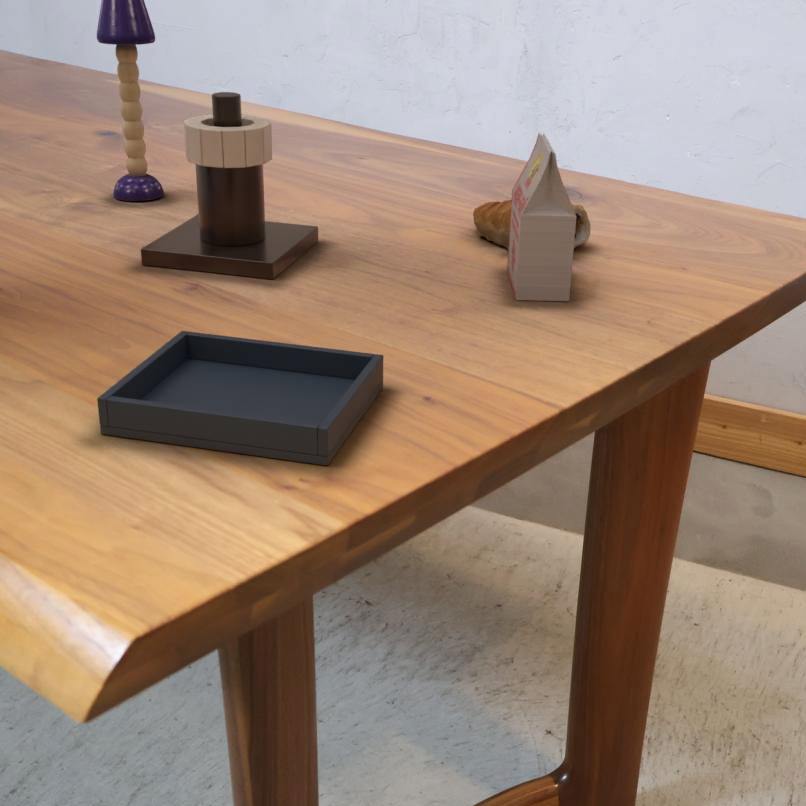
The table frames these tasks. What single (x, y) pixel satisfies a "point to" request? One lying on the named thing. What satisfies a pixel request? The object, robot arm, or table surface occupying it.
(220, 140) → the ring
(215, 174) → the stand
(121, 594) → the table surface
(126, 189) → the toy lamp
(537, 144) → the milk carton
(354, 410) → the tray
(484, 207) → the pastry
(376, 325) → the table surface
